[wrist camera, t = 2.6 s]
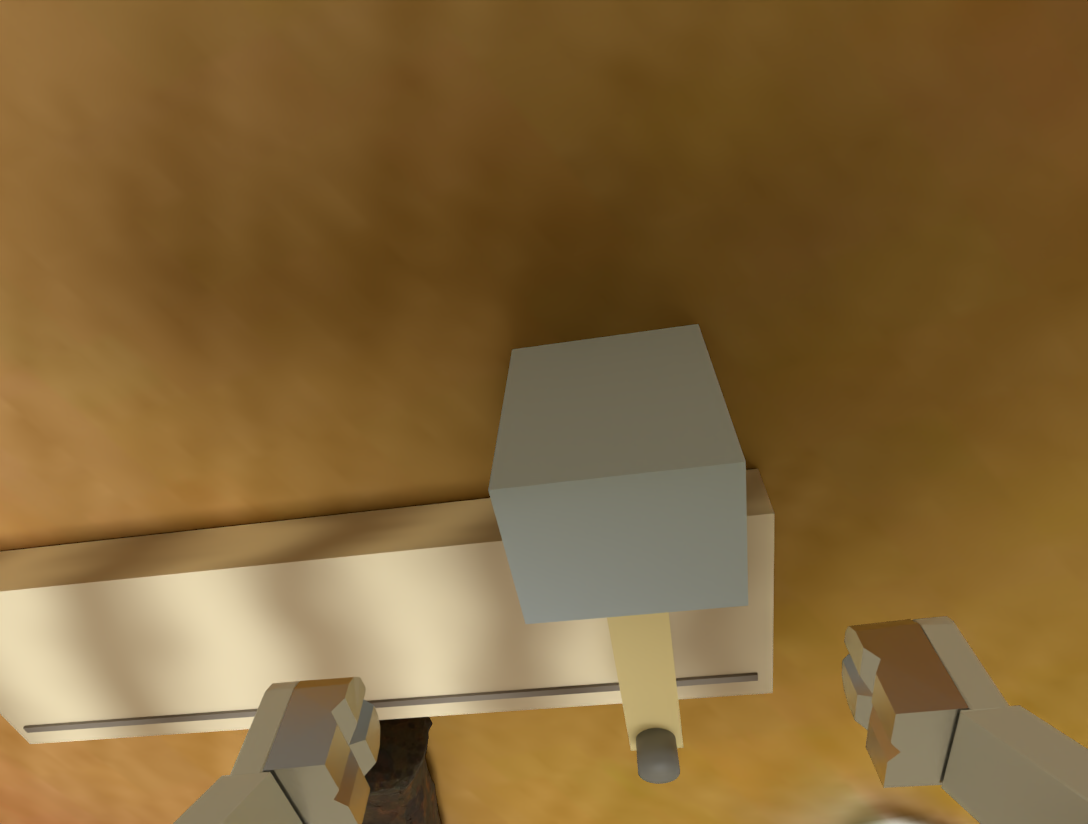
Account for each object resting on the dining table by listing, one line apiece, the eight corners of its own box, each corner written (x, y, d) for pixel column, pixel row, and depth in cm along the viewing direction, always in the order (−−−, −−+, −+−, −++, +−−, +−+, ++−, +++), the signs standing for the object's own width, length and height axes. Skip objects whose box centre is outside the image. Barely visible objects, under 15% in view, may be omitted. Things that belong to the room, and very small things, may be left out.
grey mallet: (698, 323, 18) (745, 461, 13) (715, 628, 24) (751, 800, 19) (512, 349, 19) (488, 490, 14) (576, 639, 25) (576, 808, 20)
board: (758, 468, 20) (775, 515, 19) (759, 643, 25) (773, 695, 23) (-62, 558, 24) (-113, 604, 22) (62, 698, 28) (28, 746, 26)
